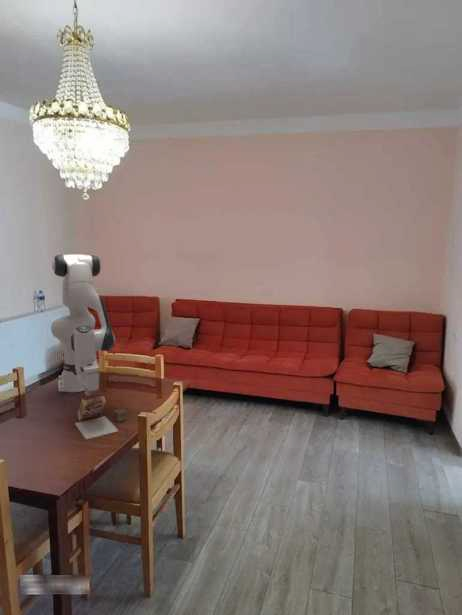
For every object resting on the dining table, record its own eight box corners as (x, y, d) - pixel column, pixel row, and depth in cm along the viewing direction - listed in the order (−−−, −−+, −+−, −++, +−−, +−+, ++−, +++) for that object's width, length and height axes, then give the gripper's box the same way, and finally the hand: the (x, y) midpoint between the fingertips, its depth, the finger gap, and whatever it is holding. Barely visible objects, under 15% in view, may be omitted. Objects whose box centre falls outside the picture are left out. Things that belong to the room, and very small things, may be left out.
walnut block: (113, 419, 187) (112, 411, 186) (121, 417, 190) (120, 408, 189) (118, 422, 184) (118, 413, 184) (126, 419, 187) (126, 410, 186)
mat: (74, 424, 182) (74, 423, 182) (105, 417, 189) (105, 416, 189) (86, 439, 168) (86, 438, 168) (118, 431, 175) (118, 430, 175)
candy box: (79, 422, 184) (84, 406, 174) (76, 413, 186) (81, 396, 176) (99, 417, 189) (106, 401, 179) (97, 409, 191) (103, 392, 181)
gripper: (72, 359, 190) (74, 389, 192) (85, 371, 173) (87, 403, 176) (86, 357, 194) (88, 386, 196) (100, 368, 177) (102, 400, 179)
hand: (87, 394), depth 186 cm, fingers closed
